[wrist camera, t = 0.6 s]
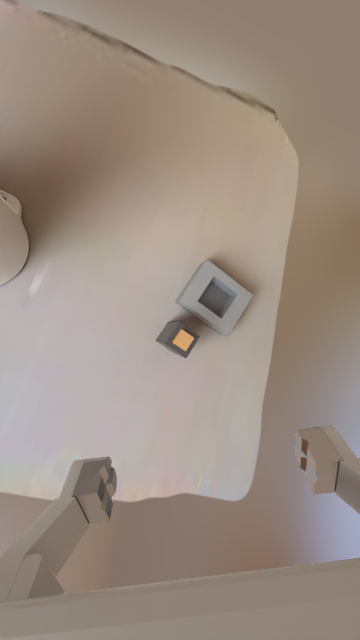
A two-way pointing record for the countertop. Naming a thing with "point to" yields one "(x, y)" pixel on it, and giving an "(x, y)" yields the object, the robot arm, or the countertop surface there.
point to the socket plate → (214, 298)
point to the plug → (178, 338)
